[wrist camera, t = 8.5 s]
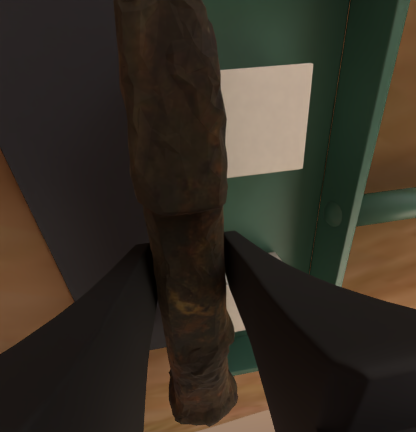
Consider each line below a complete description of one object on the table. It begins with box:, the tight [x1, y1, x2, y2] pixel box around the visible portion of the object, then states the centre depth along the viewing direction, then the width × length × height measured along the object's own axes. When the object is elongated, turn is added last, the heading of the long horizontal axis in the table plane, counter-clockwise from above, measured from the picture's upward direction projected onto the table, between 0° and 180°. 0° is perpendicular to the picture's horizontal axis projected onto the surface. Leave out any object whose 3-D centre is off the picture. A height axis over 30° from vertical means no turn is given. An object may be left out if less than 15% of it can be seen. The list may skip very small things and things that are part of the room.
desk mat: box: [0, 0, 166, 350], centre depth 12 cm, size 9×21×1 cm, turn 5°
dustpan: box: [202, 0, 416, 376], centre depth 12 cm, size 16×23×3 cm
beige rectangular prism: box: [220, 63, 313, 178], centre depth 10 cm, size 4×4×2 cm
